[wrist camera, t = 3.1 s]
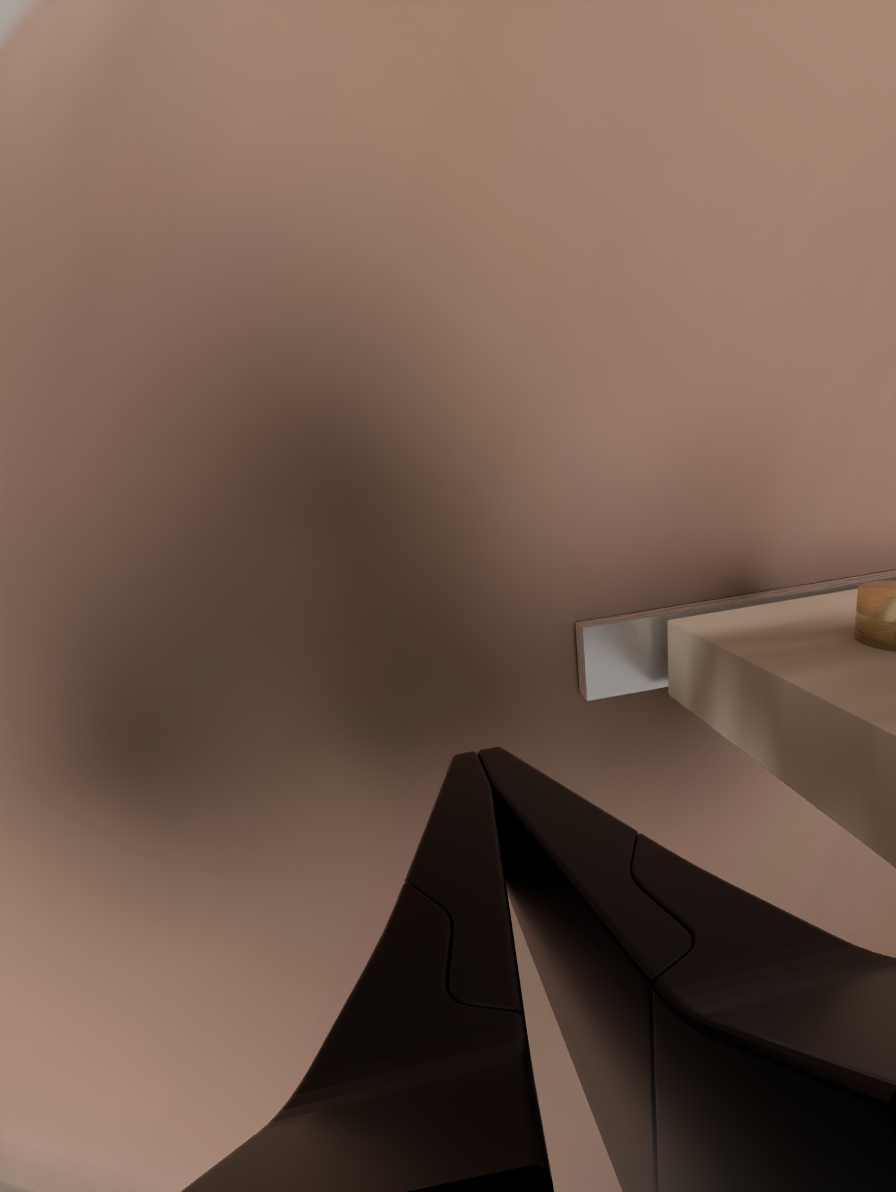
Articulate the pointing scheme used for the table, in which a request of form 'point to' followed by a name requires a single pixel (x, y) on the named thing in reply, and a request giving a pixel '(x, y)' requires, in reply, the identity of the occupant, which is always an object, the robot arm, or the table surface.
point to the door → (804, 697)
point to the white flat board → (665, 638)
